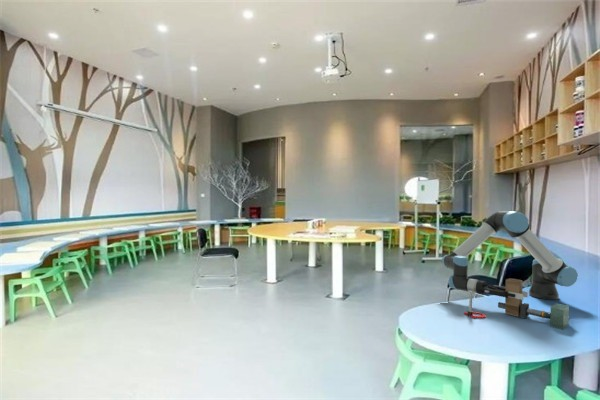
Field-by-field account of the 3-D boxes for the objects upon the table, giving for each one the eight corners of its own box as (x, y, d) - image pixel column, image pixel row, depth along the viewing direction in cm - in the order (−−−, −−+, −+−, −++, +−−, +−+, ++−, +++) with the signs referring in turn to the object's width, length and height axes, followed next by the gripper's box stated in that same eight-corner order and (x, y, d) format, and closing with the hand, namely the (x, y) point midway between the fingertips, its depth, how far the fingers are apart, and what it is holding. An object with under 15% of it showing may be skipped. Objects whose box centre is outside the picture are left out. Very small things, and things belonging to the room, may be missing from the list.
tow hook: (476, 313, 182) (462, 314, 179) (477, 288, 182) (463, 289, 179) (489, 318, 174) (475, 319, 171) (490, 293, 174) (476, 293, 171)
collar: (524, 314, 178) (524, 302, 177) (528, 315, 176) (528, 303, 176) (520, 317, 174) (520, 305, 174) (525, 318, 172) (525, 306, 172)
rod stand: (502, 309, 187) (502, 292, 187) (568, 324, 165) (568, 305, 165) (495, 313, 181) (495, 296, 181) (563, 329, 159) (563, 310, 159)
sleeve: (509, 311, 183) (509, 278, 183) (522, 314, 178) (522, 280, 178) (505, 313, 179) (505, 279, 179) (518, 316, 174) (518, 282, 174)
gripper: (484, 290, 198) (531, 299, 181) (470, 296, 186) (518, 306, 168) (484, 277, 198) (531, 285, 181) (470, 282, 186) (519, 291, 168)
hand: (525, 295), depth 175 cm, fingers closed on sleeve, 6 cm apart
